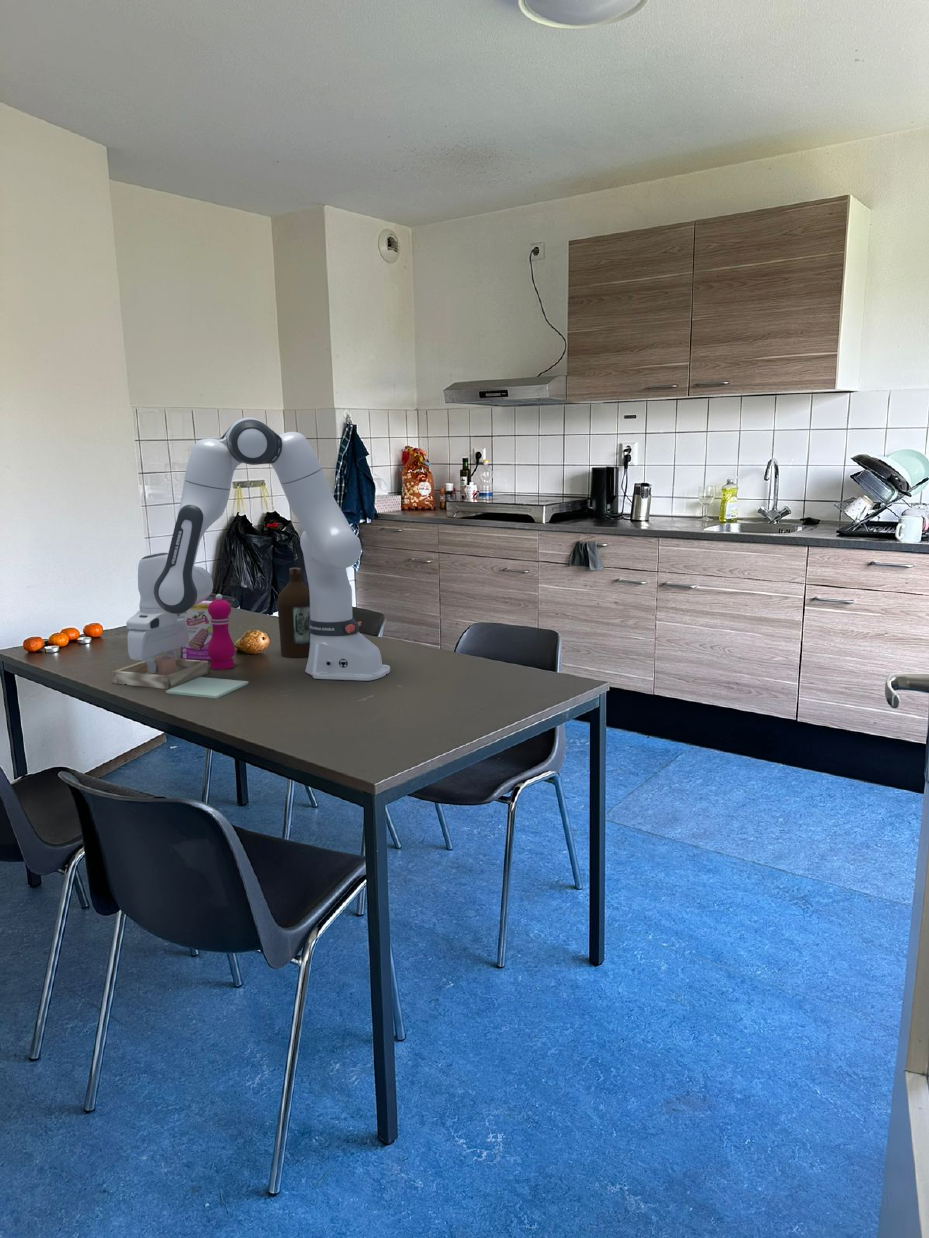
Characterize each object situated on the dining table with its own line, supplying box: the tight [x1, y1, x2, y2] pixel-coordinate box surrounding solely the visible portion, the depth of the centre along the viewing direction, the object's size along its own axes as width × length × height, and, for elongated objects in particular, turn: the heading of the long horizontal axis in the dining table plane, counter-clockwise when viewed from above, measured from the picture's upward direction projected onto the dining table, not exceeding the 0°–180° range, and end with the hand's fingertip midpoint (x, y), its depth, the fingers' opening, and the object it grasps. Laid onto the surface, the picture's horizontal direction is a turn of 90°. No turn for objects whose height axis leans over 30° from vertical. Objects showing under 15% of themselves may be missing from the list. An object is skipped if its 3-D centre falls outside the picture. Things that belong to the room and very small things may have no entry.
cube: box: [146, 655, 177, 676], centre depth 222 cm, size 5×5×5 cm
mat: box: [165, 676, 249, 699], centre depth 213 cm, size 14×14×1 cm
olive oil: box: [276, 567, 310, 659], centre depth 247 cm, size 11×11×25 cm
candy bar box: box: [180, 600, 213, 662], centre depth 241 cm, size 11×5×16 cm, turn 84°
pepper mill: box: [208, 593, 236, 671], centre depth 232 cm, size 7×7×20 cm
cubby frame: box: [111, 657, 210, 690], centre depth 222 cm, size 16×17×3 cm
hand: (161, 669), depth 222 cm, fingers closed on cube, 5 cm apart
